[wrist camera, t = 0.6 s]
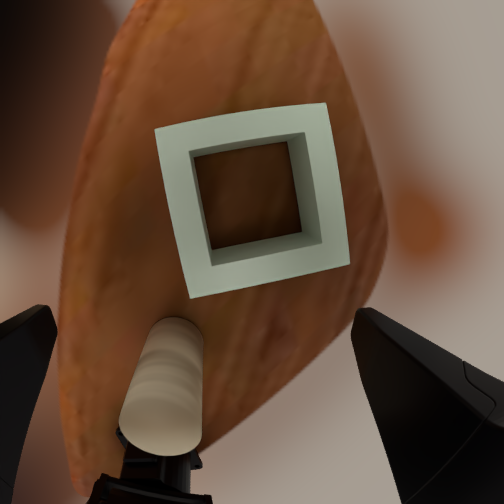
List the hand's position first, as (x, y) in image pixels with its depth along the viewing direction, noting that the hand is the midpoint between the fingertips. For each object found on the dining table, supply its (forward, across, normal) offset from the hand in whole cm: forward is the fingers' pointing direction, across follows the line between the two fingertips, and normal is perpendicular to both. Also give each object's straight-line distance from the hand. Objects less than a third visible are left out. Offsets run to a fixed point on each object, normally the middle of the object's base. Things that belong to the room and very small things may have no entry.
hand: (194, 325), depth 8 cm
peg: (+10, +3, +9) cm, 14 cm away
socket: (+12, -2, 0) cm, 13 cm away
